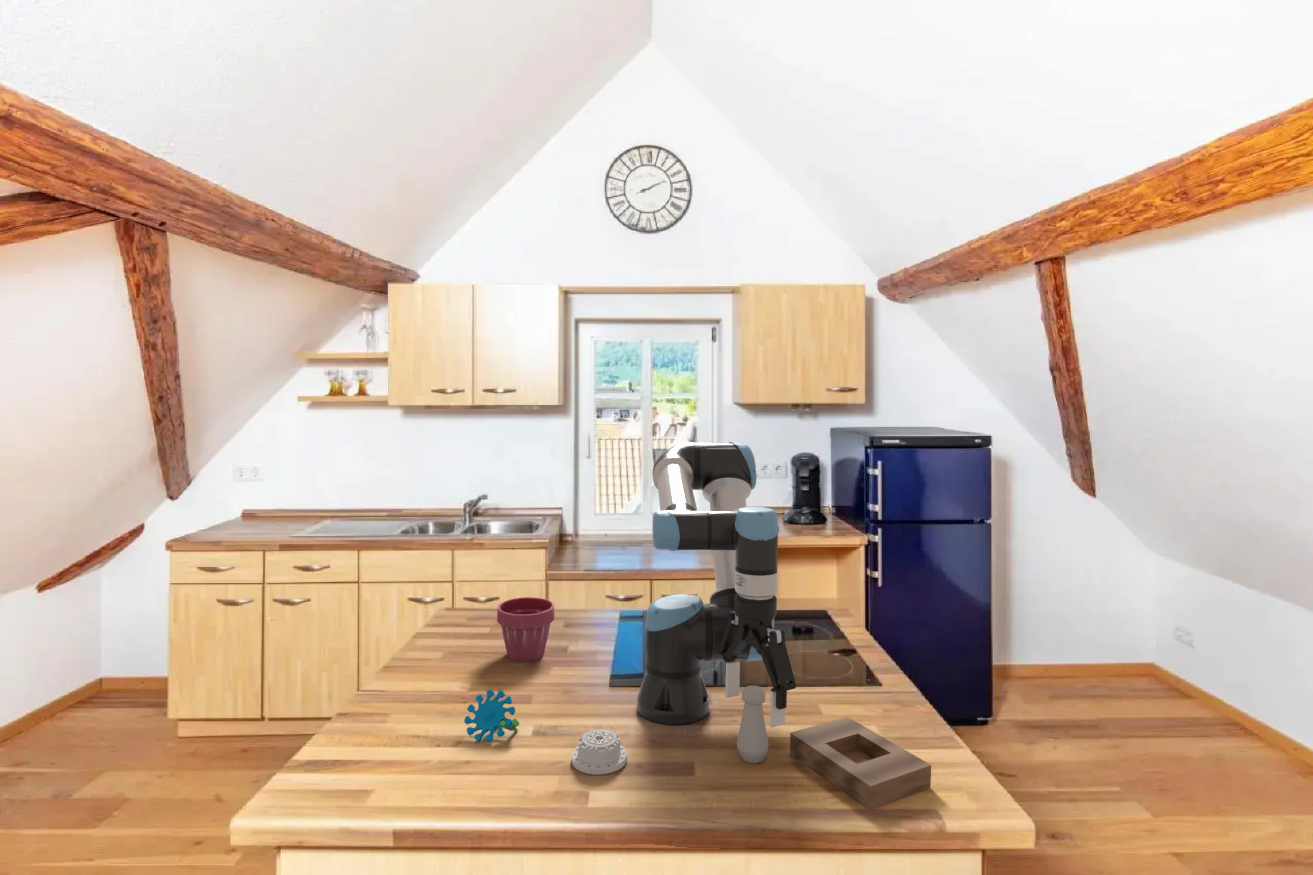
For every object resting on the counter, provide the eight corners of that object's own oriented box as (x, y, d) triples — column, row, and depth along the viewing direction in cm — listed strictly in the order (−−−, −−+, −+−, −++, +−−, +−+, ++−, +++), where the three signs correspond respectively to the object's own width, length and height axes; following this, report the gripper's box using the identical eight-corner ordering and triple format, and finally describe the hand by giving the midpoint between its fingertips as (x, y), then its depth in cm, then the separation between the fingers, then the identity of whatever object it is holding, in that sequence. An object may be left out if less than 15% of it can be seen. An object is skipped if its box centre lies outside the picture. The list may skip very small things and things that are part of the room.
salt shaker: (767, 767, 126) (769, 696, 125) (735, 764, 127) (736, 693, 127) (768, 751, 132) (770, 683, 131) (738, 748, 133) (739, 680, 132)
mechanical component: (614, 781, 122) (634, 753, 131) (614, 756, 122) (635, 730, 131) (562, 770, 125) (585, 743, 135) (562, 746, 125) (585, 721, 134)
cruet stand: (789, 753, 131) (790, 732, 131) (846, 736, 138) (847, 716, 138) (869, 810, 114) (870, 786, 113) (930, 787, 120) (931, 765, 120)
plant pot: (549, 666, 171) (549, 614, 170) (491, 665, 171) (490, 613, 171) (558, 645, 186) (558, 597, 185) (504, 644, 186) (504, 596, 185)
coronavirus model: (453, 730, 135) (480, 681, 141) (464, 740, 140) (490, 693, 145) (501, 749, 131) (526, 698, 137) (511, 760, 136) (536, 710, 141)
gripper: (701, 580, 137) (699, 688, 138) (783, 616, 115) (780, 744, 116) (733, 576, 140) (731, 681, 141) (818, 609, 118) (816, 734, 120)
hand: (753, 710), depth 129 cm, fingers open, 13 cm apart
